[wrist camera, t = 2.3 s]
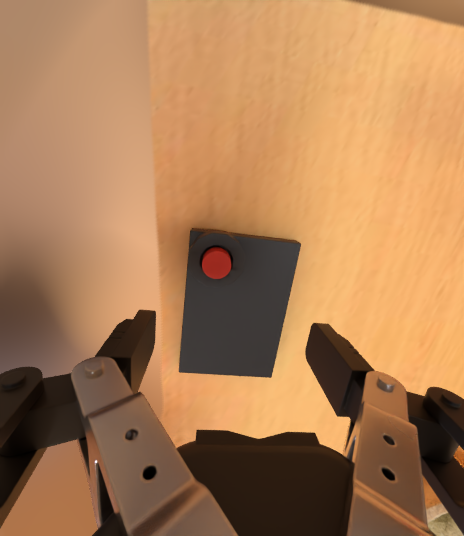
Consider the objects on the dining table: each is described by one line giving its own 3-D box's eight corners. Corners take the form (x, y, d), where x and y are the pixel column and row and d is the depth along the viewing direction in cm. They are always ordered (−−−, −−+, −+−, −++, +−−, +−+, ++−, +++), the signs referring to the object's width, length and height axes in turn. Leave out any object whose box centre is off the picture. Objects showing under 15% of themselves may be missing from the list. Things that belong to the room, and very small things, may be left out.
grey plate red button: (191, 224, 27) (188, 229, 23) (296, 237, 28) (308, 244, 25) (180, 363, 32) (176, 383, 29) (268, 368, 33) (274, 388, 30)
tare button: (204, 245, 24) (203, 249, 23) (231, 248, 25) (233, 252, 23) (201, 271, 25) (200, 277, 24) (228, 274, 25) (229, 280, 24)
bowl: (378, 478, 49) (375, 516, 38) (463, 436, 45) (489, 464, 33) (441, 574, 42) (461, 659, 30) (551, 535, 37) (624, 616, 26)
